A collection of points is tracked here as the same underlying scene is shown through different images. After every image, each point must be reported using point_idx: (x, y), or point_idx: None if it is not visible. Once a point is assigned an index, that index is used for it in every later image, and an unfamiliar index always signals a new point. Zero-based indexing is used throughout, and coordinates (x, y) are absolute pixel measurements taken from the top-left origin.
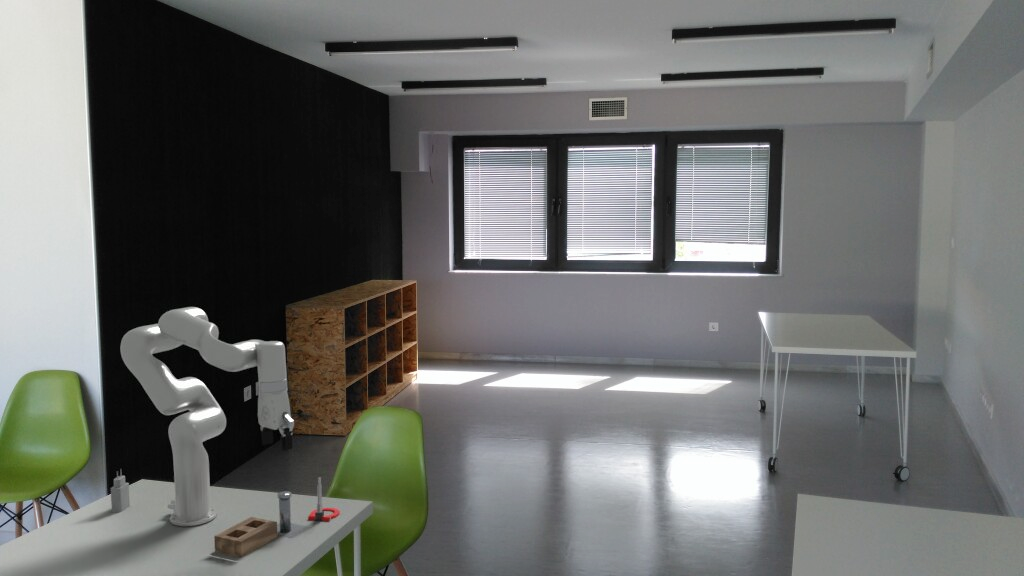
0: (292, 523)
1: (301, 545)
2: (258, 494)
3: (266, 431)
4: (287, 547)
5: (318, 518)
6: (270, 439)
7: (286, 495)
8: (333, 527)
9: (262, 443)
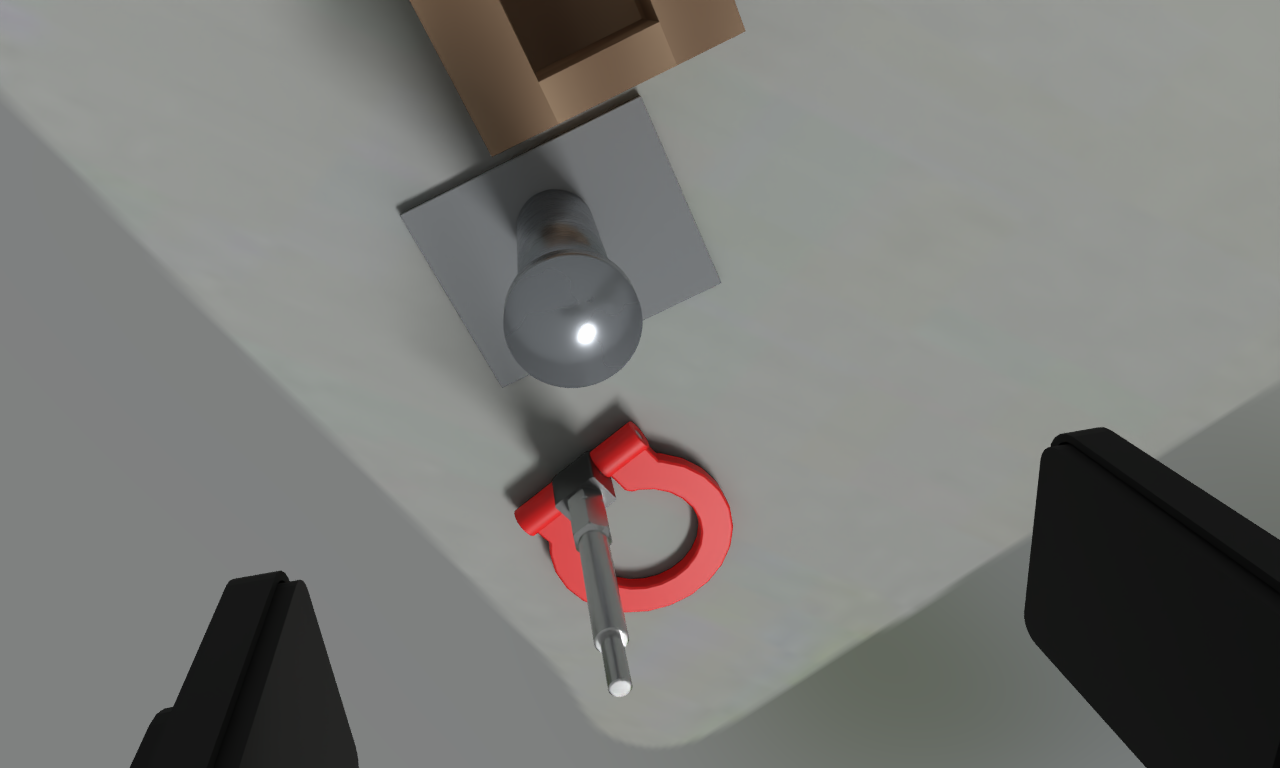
0: (643, 318)
1: (251, 212)
2: (1260, 350)
3: (1272, 717)
4: (274, 116)
5: (570, 471)
6: (1078, 628)
7: (513, 321)
8: (421, 493)
9: (1109, 434)
